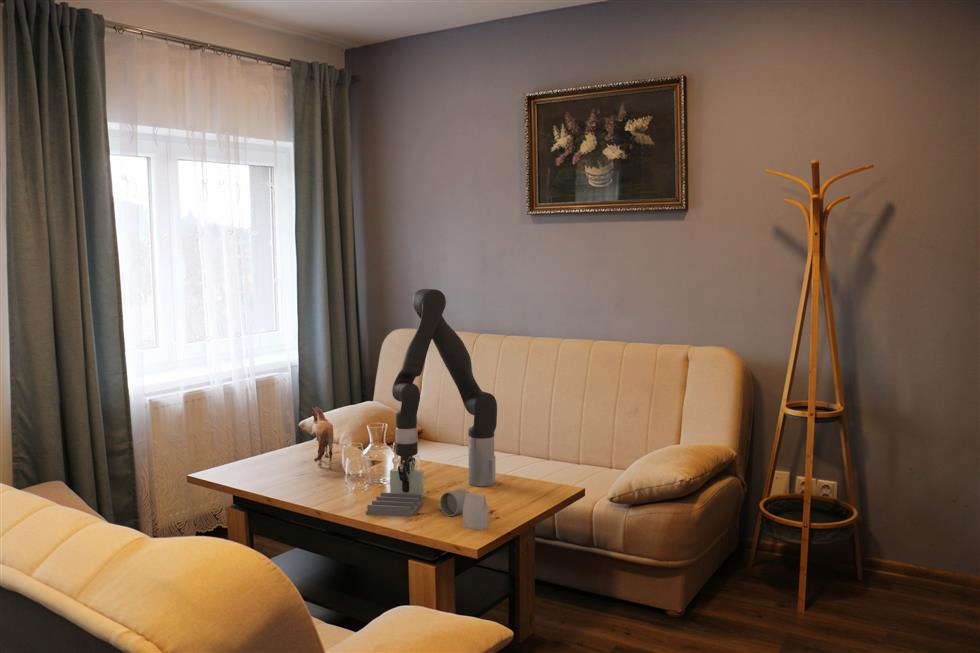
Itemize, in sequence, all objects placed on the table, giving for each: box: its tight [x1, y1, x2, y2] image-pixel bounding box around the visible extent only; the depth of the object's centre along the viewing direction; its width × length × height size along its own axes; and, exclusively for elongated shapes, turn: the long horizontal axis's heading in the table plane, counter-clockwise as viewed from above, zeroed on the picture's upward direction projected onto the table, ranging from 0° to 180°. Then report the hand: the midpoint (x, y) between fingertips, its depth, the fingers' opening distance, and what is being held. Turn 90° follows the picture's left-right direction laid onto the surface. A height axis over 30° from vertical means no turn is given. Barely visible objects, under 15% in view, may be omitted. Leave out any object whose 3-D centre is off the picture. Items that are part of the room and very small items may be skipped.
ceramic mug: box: [438, 488, 470, 517], centre depth 264 cm, size 11×8×8 cm
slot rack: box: [365, 491, 424, 518], centre depth 267 cm, size 15×14×3 cm
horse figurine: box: [311, 406, 335, 469], centre depth 325 cm, size 31×8×21 cm, turn 13°
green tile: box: [389, 468, 425, 498], centre depth 281 cm, size 11×2×9 cm, turn 80°
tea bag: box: [462, 492, 489, 531], centre depth 249 cm, size 4×7×10 cm, turn 57°
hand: (407, 490), depth 281 cm, fingers closed on green tile, 2 cm apart
